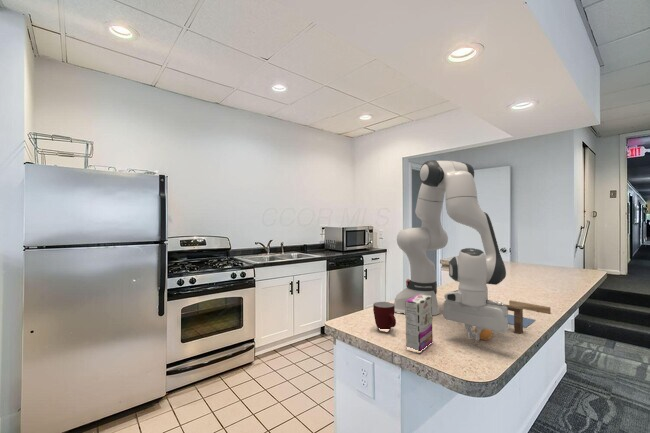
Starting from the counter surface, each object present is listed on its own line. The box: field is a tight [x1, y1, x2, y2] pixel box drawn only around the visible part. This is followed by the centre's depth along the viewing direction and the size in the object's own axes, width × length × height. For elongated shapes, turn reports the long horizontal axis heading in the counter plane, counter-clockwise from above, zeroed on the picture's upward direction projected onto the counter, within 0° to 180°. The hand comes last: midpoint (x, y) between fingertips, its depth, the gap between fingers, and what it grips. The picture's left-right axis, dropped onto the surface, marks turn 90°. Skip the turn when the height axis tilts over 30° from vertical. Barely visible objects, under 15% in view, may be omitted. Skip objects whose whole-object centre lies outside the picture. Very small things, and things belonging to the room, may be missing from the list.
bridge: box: [502, 303, 524, 335], centre depth 117 cm, size 3×14×9 cm, turn 41°
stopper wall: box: [508, 299, 551, 315], centre depth 141 cm, size 2×16×2 cm, turn 41°
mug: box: [372, 301, 397, 330], centre depth 115 cm, size 10×8×10 cm
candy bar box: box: [404, 294, 434, 351], centre depth 101 cm, size 11×5×16 cm, turn 139°
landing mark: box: [507, 313, 536, 329], centre depth 126 cm, size 13×13×1 cm
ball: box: [474, 326, 493, 341], centre depth 107 cm, size 6×6×6 cm
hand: (474, 338), depth 100 cm, fingers closed
